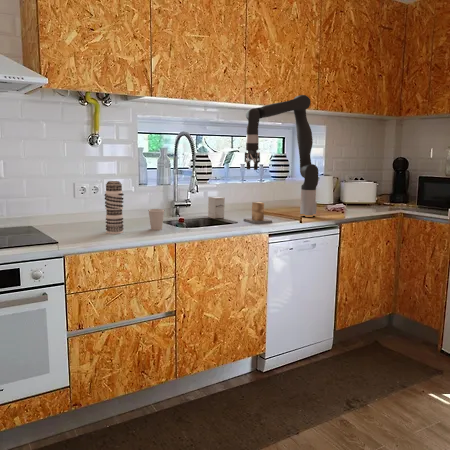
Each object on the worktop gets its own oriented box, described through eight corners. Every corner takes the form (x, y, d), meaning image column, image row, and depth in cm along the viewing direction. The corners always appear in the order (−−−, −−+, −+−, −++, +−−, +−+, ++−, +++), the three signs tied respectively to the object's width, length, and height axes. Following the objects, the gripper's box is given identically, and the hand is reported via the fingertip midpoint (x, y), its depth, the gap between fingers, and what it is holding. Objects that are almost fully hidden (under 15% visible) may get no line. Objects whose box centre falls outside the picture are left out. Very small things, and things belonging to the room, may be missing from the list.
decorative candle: (119, 230, 235) (118, 180, 232) (127, 232, 228) (126, 181, 224) (102, 231, 230) (101, 180, 226) (109, 234, 223) (108, 182, 219)
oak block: (259, 218, 275) (259, 201, 273) (263, 220, 271) (264, 202, 269) (251, 219, 273) (252, 202, 271) (256, 220, 268) (256, 203, 267)
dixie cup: (145, 228, 240) (144, 209, 238) (157, 227, 246) (157, 208, 245) (155, 231, 234) (155, 211, 233) (168, 229, 241) (167, 209, 239)
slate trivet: (260, 219, 280) (261, 217, 280) (272, 222, 269) (272, 220, 269) (243, 220, 274) (243, 218, 274) (254, 223, 264) (254, 221, 263)
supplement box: (214, 218, 280) (214, 197, 278) (207, 217, 286) (208, 196, 284) (224, 217, 285) (224, 197, 283) (217, 216, 291) (217, 196, 289)
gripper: (263, 142, 276) (263, 169, 279) (251, 142, 289) (251, 169, 291) (253, 142, 273) (252, 170, 276) (241, 142, 285) (240, 169, 288)
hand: (251, 169), depth 283 cm, fingers open, 8 cm apart
